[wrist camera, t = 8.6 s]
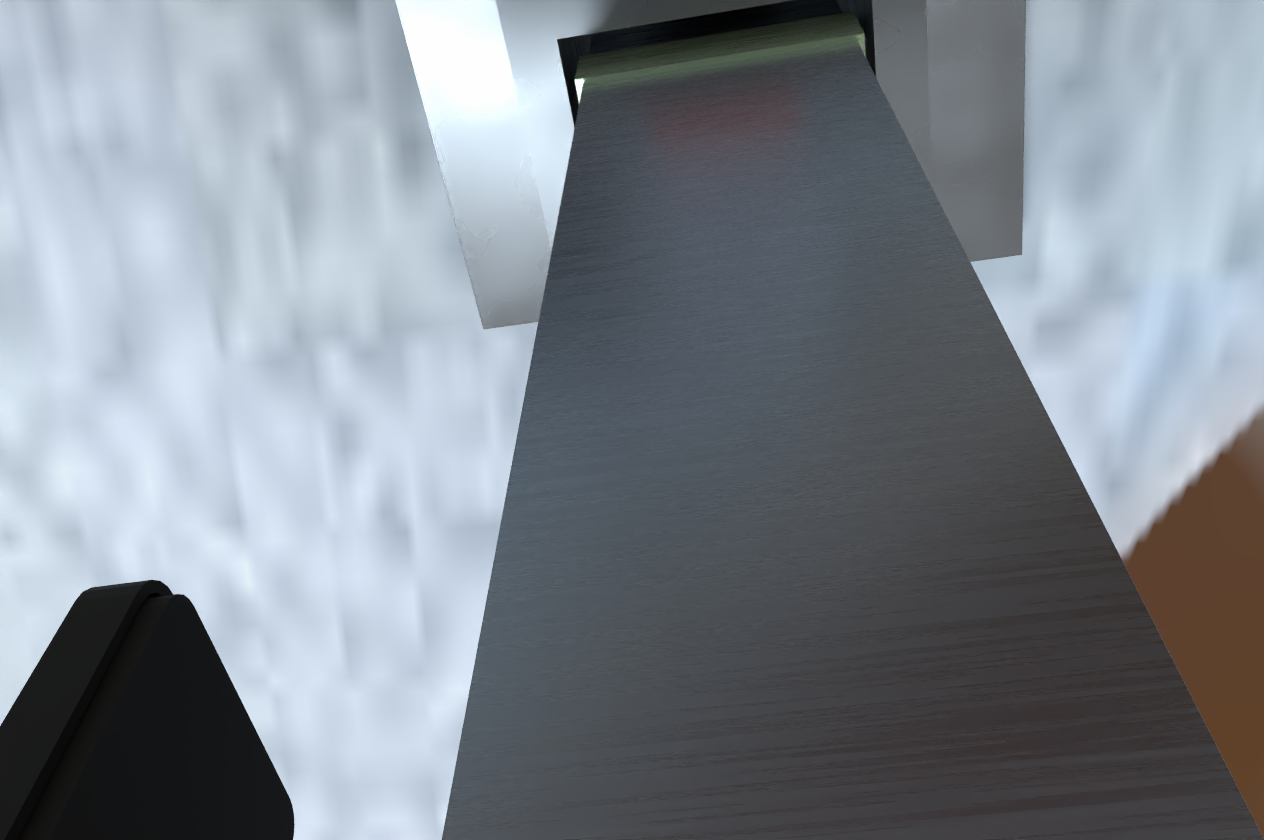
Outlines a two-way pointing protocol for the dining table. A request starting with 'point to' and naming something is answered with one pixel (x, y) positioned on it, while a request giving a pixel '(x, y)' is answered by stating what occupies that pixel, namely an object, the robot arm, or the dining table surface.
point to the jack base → (590, 3)
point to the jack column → (798, 500)
